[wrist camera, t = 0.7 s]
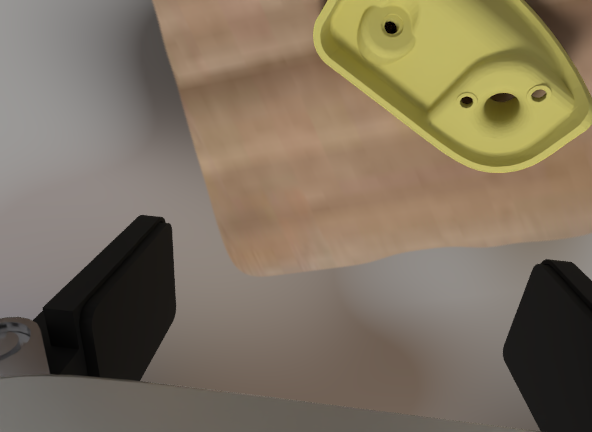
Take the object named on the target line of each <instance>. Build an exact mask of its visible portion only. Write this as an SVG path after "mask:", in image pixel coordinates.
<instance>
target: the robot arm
mask: <svg viewBox="0 0 592 432" xmlns="http://www.w3.org/2000/svg"><path fill="white" fill-rule="evenodd" d="M172 241H173V240H172V227H171V225H170V224H169V223H165V220H164V218H163V217H155V216H146V215H140V216H138V217H137V218H136V219H135V220H134V221H133V222H132V223H131V224H130V225H129V226H128V227H127V228H126V229H125V230H124V231H123V232H122V233H121V234H120V235H119V236H118V237H116V238H115V239H114V240H113V241H112V242H111V243H110V244H109V245H108V246H107V247H106V248H105V249H104V250H103V251H102V252H101V253H100V254H99V255H97V256H96V257H95V258H94V260H92V261H91V262H90V263H89V264H88V265H87V266H86V267H85V268H84V269H83V270H82V271H81V272H80V273H79V274H77V275H76V276H75V277H74V278H73V279H72V280H71V281H70V282H69V283H68V284H67V285H66V286H65V287H64V288H63V289H62V290H61V291H60V292H59V293H58V294H56V296H54V297H53V298H52V299H51V300H50V301H49V302H48V303H47V304H46V305H45V306H44V307H43V311H42V312H41V313H40V314H39V315H38V316H37V317H36V318H35V319H34V320H33V321H32V320H30V319H27V318H21V317H6V318H1V319H0V432H538V431H531V430H523V429H516V428H508V427H501V426H493V425H485V424H477V423H469V422H462V421H454V420H446V419H438V418H430V417H423V416H415V415H407V414H399V413H391V412H383V411H375V410H368V409H359V408H352V407H344V406H336V405H328V404H320V403H312V402H305V401H297V400H289V399H281V398H273V397H266V396H265V397H264V396H257V395H249V394H241V393H233V392H224V391H217V390H208V389H200V388H192V387H184V386H175V385H167V384H159V383H151V382H143V381H140V380H141V378H142V376H143V374H144V372H145V371H146V369H147V367H148V365H149V364H150V362H151V360H152V358H153V356H154V355H155V352H156V351H157V349H158V347H159V345H160V344H161V342H162V340H163V338H164V336H165V334H166V333H167V331H168V329H169V327H170V326H171V324H172V322H173V320H174V317H175V313H176V300H175V299H176V297H175V279H174V259H173V242H172ZM503 357H504V361H505V363H506V365H507V367H508V369H509V370H510V372H511V375H512V376H513V378H514V380H515V382H516V384H517V386H518V388H519V390H520V392H521V394H522V396H523V398H524V400H525V401H526V403H527V405H528V407H529V409H530V411H531V413H532V415H533V417H534V419H535V421H536V423H537V425H538V427H539V428H540V431H541V432H592V281H591V280H590V279H589V278H588V277H587V276H586V275H585V274H584V273H583V272H582V271H581V270H580V269H579V268H578V267H577V266H576V265H575V264H573V263H572V262H566V261H557V260H547V259H546V260H544V261H543V262H542V263H541V264H537V265H535V266H534V268H533V270H532V272H531V275H530V278H529V280H528V283H527V286H526V288H525V291H524V294H523V296H522V299H521V302H520V304H519V307H518V309H517V313H516V315H515V318H514V320H513V323H512V326H511V328H510V331H509V334H508V336H507V339H506V342H505V344H504V348H503Z"/></svg>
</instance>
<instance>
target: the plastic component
mask: <svg viewBox="0 0 592 432" xmlns="http://www.w3.org/2000/svg"><path fill="white" fill-rule="evenodd" d="M389 21H391V22H394V23H395V25H396V26H397V32H396V33H394V34H389V33H387V32H386V30H385V28H384V25H385V23H386V22H389ZM313 40H314V46H315V48H316V51H317V53H318V54H319V56H320V58H321V59H322V60H323V61H324V62H325V63H326V64H327V65H329V66H330V67H331V68H332V69H334V70H335V71H336V72H338V73H339V74H340V75H342V76H343V77H344V78H346V79H347V80H348V81H349V82H351V83H352V84H353V85H355V86H356V87H357V88H359V89H360V90H361V91H363V92H364V93H365V94H366V95H368V96H369V97H370V98H372V99H373V100H374V101H376V102H377V103H378V104H380V105H381V106H382V107H383V108H385V109H386V110H387V111H389V112H390V113H391V114H393V115H394V116H395V117H396V118H398V119H399V120H400V121H402V122H403V123H404V124H406V125H407V126H408V127H410V128H411V129H412V130H413V131H415V132H416V133H417V134H419V135H420V136H421V137H423V138H424V139H425V140H427V141H428V142H429V143H431V144H432V145H433V146H435V147H436V148H438V149H439V150H440V151H442V152H443V153H445V154H446V155H448V156H449V157H451V158H452V159H454V160H456V161H457V162H459V163H461V164H463V165H465V166H467V167H470V168H472V169H476V170H479V171H484V172H491V173H506V172H513V171H517V170H522V169H524V168H527V167H530V166H532V165H534V164H536V163H538V162H540V161H542V160H544V159H545V158H547V157H548V156H550V155H551V154H553V153H554V152H556V151H557V150H558V149H560V148H561V147H563V146H564V145H566V144H567V143H568V142H570V141H571V140H573V139H574V138H576V137H577V136H578V135H580V134H581V133H583V132H584V131H586V130H587V129H588V128H589V127H590V126H591V124H592V98H591V95H590V93H589V91H588V89H587V87H586V85H585V83H584V81H583V79H582V77H581V75H580V74H579V72H578V70H577V68H576V67H575V65H574V64H573V62H572V60H571V59H570V57H569V56H568V54H567V53H566V51H565V50H564V48H563V47H562V45H561V44H560V43H559V41H558V40H557V39H556V37H555V36H554V34H553V33H552V32H551V30H550V29H549V28H548V27H547V26H546V24H545V23H544V22H543V21H542V19H541V18H540V17H539V16H538V15H537V14H536V13H535V11H534V10H533V9H532V8H531V7H530V6H529V5H528V4H527V3H526V2H525V1H524V0H327V2H326V4H325V6H324V8H323V9H322V11H321V13H320V15H319V16H318V18H317V20H316V22H315V26H314V30H313ZM540 89H542V90H544V91H545V92H546V94H545V95H544V96H543V97H540V98H535V97H533V96H532V93H533V92H534V91H536V90H540ZM498 93H509V94H512V95H514V96H515V97H514V98H513V99H511V100H508V101H506V102H497V101H494V100H492V99H491V98H490V97H491V96H493V95H495V94H498ZM466 96H467V97H471V98H472V99H473V101H472V102H471V103H470V104H464V103H463V102H462V101H461V99H462V98H463V97H466Z"/></svg>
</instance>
